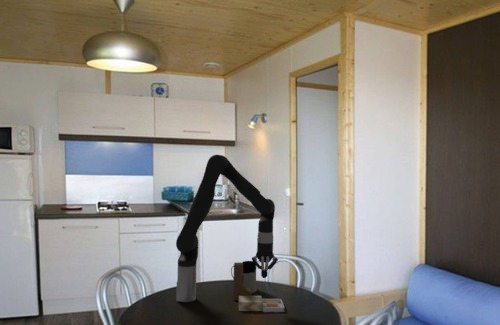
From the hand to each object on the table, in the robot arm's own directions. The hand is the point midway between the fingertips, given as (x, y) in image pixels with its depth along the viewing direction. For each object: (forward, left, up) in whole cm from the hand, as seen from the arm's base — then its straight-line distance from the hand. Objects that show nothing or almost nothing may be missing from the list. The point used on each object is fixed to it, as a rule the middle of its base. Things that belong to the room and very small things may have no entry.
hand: (264, 277), depth 183 cm
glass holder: (-9, +25, -14) cm, 30 cm away
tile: (+4, 0, -12) cm, 12 cm away
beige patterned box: (-6, 0, -14) cm, 15 cm away
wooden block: (-10, +11, -14) cm, 21 cm away
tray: (+4, 0, -14) cm, 15 cm away
